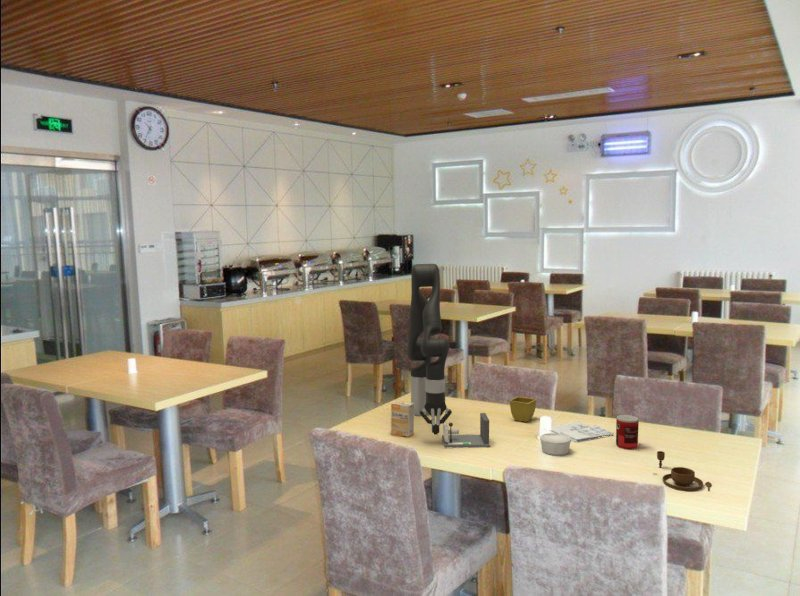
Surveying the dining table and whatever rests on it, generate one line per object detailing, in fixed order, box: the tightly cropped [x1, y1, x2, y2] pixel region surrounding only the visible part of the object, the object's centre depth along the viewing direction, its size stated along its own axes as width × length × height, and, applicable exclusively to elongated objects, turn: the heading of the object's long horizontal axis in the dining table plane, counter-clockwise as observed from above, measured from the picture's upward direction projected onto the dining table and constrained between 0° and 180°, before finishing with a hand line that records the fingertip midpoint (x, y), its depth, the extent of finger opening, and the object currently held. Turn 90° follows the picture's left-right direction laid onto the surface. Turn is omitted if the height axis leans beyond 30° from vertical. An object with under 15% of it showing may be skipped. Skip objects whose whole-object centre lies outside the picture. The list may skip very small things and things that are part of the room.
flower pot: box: [509, 396, 537, 423], centre depth 277 cm, size 9×9×9 cm
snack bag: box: [551, 421, 614, 443], centre depth 261 cm, size 19×20×2 cm
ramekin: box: [539, 432, 572, 456], centre depth 239 cm, size 11×11×5 cm
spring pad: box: [442, 421, 460, 443], centre depth 249 cm, size 10×6×5 cm, turn 1°
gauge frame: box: [441, 412, 491, 448], centre depth 249 cm, size 12×17×10 cm
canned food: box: [615, 414, 640, 450], centre depth 243 cm, size 8×8×11 cm
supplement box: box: [390, 400, 415, 438], centre depth 259 cm, size 8×5×13 cm, turn 62°
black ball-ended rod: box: [448, 421, 454, 443], centre depth 244 cm, size 2×2×8 cm
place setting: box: [652, 450, 713, 492], centre depth 211 cm, size 18×20×6 cm
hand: (435, 433), depth 249 cm, fingers closed
